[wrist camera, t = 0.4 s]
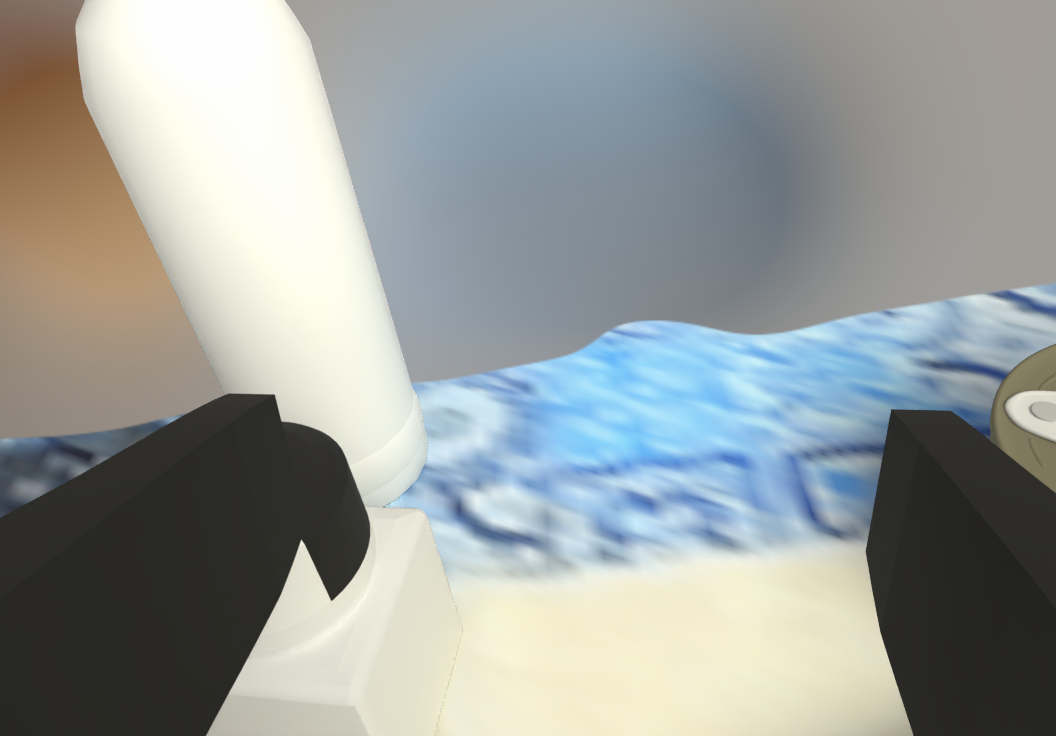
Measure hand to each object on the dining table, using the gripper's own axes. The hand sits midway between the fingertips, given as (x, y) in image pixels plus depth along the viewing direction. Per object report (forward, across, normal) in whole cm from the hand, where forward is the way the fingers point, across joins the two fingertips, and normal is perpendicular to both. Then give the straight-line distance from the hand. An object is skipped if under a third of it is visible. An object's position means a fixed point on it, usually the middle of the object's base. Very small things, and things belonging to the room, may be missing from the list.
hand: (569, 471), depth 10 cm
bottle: (+24, +14, +18) cm, 33 cm away
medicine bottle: (+11, +10, +20) cm, 25 cm away
